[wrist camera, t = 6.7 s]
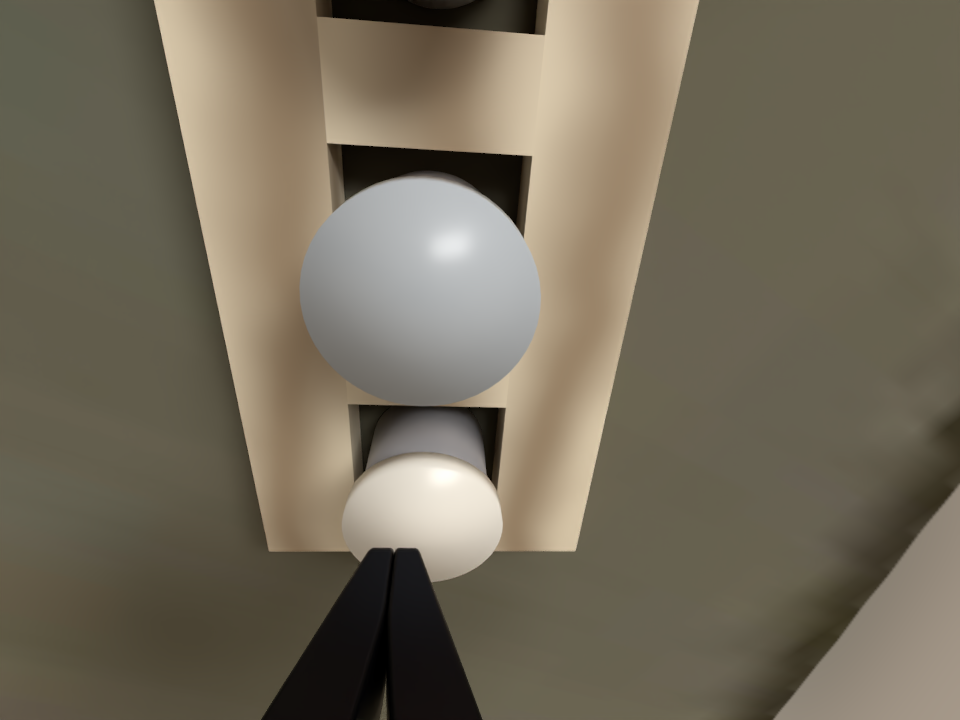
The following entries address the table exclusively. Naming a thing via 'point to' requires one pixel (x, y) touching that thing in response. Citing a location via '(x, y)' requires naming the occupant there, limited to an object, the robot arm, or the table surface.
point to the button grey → (420, 290)
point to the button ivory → (426, 491)
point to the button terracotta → (440, 3)
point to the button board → (435, 126)
